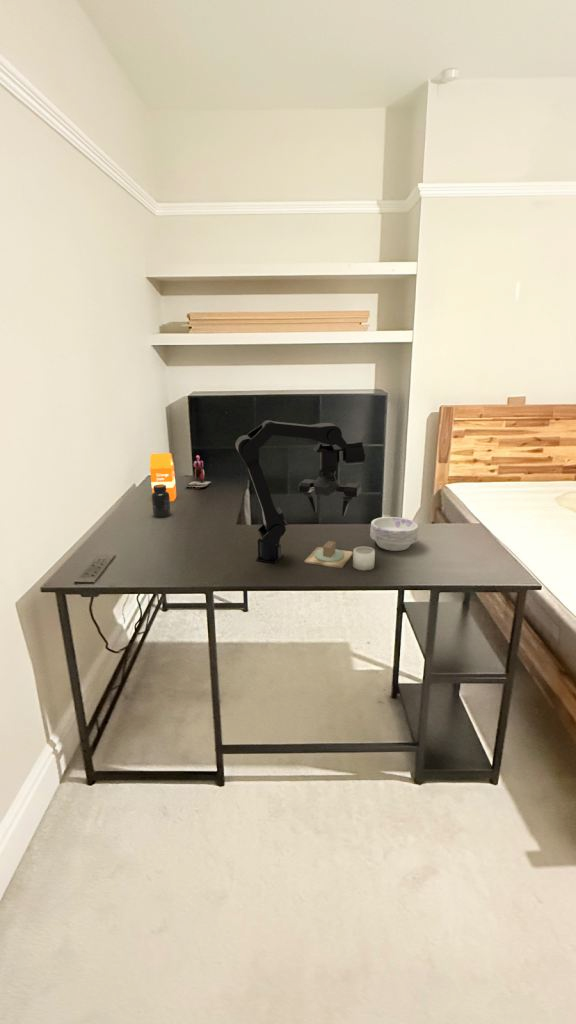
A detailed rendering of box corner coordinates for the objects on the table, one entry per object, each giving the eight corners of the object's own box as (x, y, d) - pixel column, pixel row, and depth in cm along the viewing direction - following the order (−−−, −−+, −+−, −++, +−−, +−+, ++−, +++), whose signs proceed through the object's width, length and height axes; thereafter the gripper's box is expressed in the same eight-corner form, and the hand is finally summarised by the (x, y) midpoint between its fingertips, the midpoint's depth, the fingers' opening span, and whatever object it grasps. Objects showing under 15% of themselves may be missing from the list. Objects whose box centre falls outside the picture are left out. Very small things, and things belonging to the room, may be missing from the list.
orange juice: (156, 496, 231) (152, 451, 225) (176, 495, 232) (172, 451, 225) (153, 501, 224) (148, 455, 217) (174, 501, 224) (170, 455, 218)
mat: (304, 562, 161) (304, 560, 161) (317, 548, 172) (317, 546, 172) (342, 568, 157) (342, 566, 157) (353, 553, 167) (353, 551, 167)
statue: (192, 485, 252) (190, 454, 249) (211, 486, 250) (209, 454, 247) (184, 489, 241) (182, 456, 238) (203, 489, 240) (202, 456, 237)
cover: (310, 559, 162) (310, 547, 161) (320, 549, 170) (320, 537, 169) (338, 563, 159) (339, 551, 157) (347, 552, 167) (347, 541, 165)
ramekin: (350, 568, 157) (350, 552, 155) (356, 560, 162) (356, 545, 161) (371, 571, 154) (372, 555, 153) (376, 563, 160) (377, 548, 159)
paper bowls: (418, 540, 178) (420, 517, 175) (414, 557, 164) (416, 533, 162) (373, 535, 182) (374, 513, 180) (366, 552, 169) (367, 528, 166)
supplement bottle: (149, 517, 205) (146, 487, 201) (159, 511, 211) (156, 482, 207) (165, 518, 203) (162, 488, 199) (174, 513, 209) (171, 484, 205)
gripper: (291, 469, 156) (291, 518, 161) (352, 474, 149) (351, 526, 154) (304, 461, 166) (304, 508, 170) (362, 465, 159) (360, 514, 164)
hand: (329, 514), depth 164 cm, fingers open, 9 cm apart
